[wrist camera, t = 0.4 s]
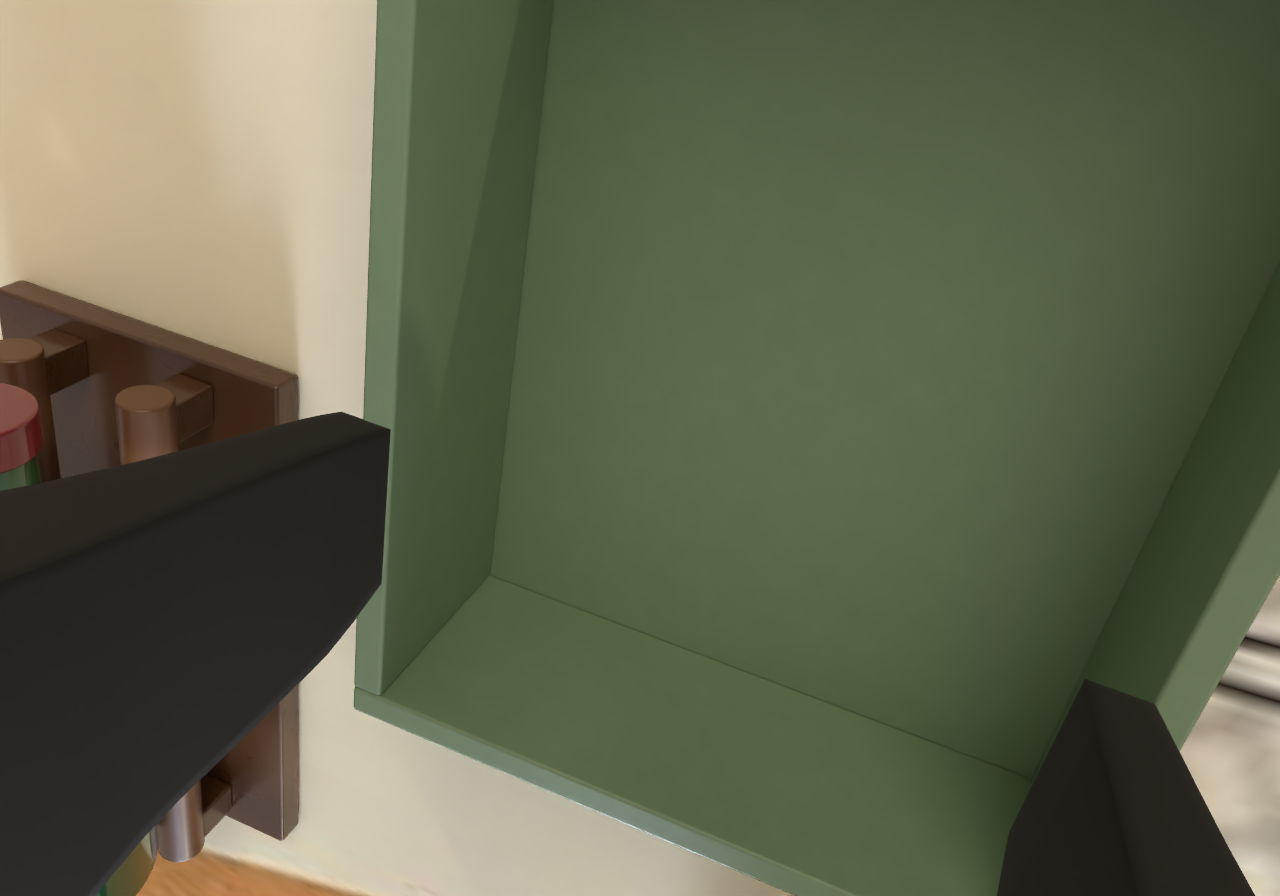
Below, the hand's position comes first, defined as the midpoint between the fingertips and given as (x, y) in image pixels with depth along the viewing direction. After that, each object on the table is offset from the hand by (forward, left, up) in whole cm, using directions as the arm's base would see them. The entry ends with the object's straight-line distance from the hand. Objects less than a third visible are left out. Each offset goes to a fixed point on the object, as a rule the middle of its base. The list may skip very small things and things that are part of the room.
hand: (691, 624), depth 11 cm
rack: (-13, +16, -10) cm, 23 cm away
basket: (0, 0, -10) cm, 10 cm away
